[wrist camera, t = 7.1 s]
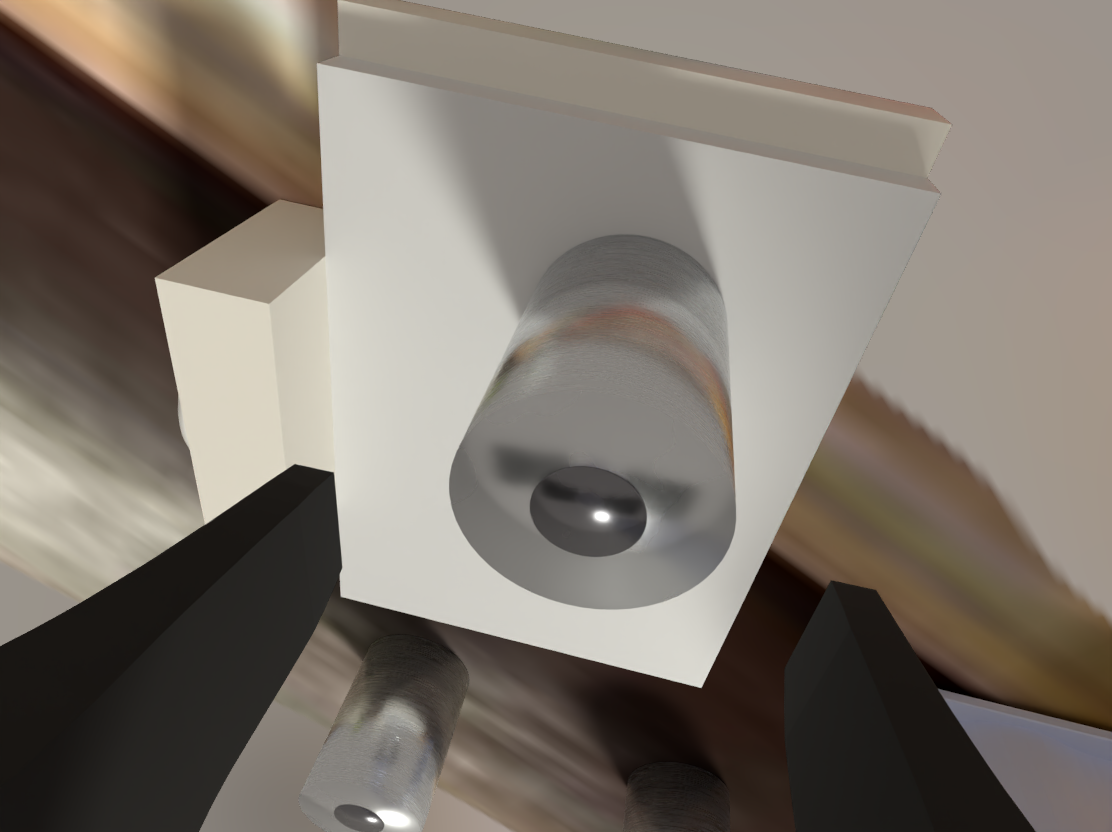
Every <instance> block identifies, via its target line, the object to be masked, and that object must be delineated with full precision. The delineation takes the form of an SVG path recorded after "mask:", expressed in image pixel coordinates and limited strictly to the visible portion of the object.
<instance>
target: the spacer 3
mask: <svg viewBox="0 0 1112 832" xmlns="http://www.w3.org/2000/svg"><path fill="white" fill-rule="evenodd" d="M623 832H730V800H729V791H728V788H727V786H726V785H725V784H724V782H723V781H722V780H721V779H719V778H718V777H717V776H715V775H714V774H712V773H710V772H708V771H706V770H704V769H702V768H699V767H696V766H693V765H689V764H684V763H678V762H656V763H651V764H647V765H644V766H641V767H639V768H637V769H636V770H634V771H633V772H632V773H631V774H630V776H629V778H628V783H627V793H626V804H625V815H624V825H623Z"/></svg>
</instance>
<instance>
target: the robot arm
mask: <svg viewBox="0 0 1112 832" xmlns="http://www.w3.org/2000/svg"><path fill="white" fill-rule="evenodd" d="M341 570H342V556H341V545H340V534H339V522H338V511H337V499H336V488H335V477H334V472H330V471H325V470H320V469H316V468H311V467H307V466H302V465H297V464H294V465H292V466H291V467H289V468H288V469H286V470H285V471H283V472H282V473H280V474H279V475H277V476H276V477H274V478H273V479H271V480H270V481H268V482H267V483H265V484H264V485H262V486H261V487H259V488H258V489H256V490H255V491H254V492H252V493H251V494H249V495H248V496H246V497H245V498H243V499H242V500H240V501H239V502H238V503H236V504H235V505H233V506H232V507H230V508H229V509H227V510H226V511H224V512H223V513H221V514H220V515H219V516H217V517H216V518H214V519H213V520H211V521H210V522H208V523H207V524H205V525H204V526H202V527H201V528H199V529H198V530H196V531H195V532H193V533H192V534H190V535H189V536H187V537H185V538H184V539H182V540H181V541H179V542H178V543H176V544H175V545H173V546H172V547H170V548H169V549H167V550H166V551H164V552H163V553H161V554H160V555H158V556H157V557H155V558H153V559H152V560H150V561H149V562H147V563H146V564H144V565H142V566H141V567H139V568H137V569H136V570H134V571H132V572H131V573H129V574H127V575H126V576H124V577H123V578H121V579H119V580H118V581H116V582H114V583H113V584H111V585H109V586H108V587H106V588H104V589H103V590H101V591H99V592H98V593H96V594H94V595H93V596H91V597H89V598H88V599H86V600H84V601H83V602H81V603H79V604H78V605H76V606H74V607H72V608H71V609H69V610H67V611H66V612H64V613H62V614H60V615H58V616H56V617H55V618H53V619H51V620H49V621H47V622H45V623H44V624H42V625H40V626H38V627H36V628H35V629H33V630H31V631H29V632H27V633H25V634H23V635H21V636H19V637H17V638H15V639H13V640H12V641H9V642H7V643H5V644H4V645H2V646H0V832H199V830H200V828H201V826H202V824H203V822H204V820H205V818H206V816H207V814H208V812H209V810H210V808H211V806H212V804H213V802H214V800H215V798H216V796H217V794H218V793H219V791H220V789H221V787H222V785H223V783H224V782H225V780H226V778H227V776H228V775H229V773H230V771H231V769H232V767H233V766H234V764H235V762H236V761H237V759H238V758H239V756H240V754H241V753H242V751H243V749H244V748H245V746H246V744H247V743H248V741H249V739H250V738H251V736H252V734H253V733H254V731H255V729H256V728H257V726H258V724H259V723H260V721H261V719H262V718H263V716H264V714H265V713H266V711H267V709H268V708H269V706H270V704H271V703H272V701H273V700H274V698H275V696H276V695H277V693H278V691H279V690H280V688H281V686H282V685H283V683H284V681H285V680H286V678H287V676H288V675H289V673H290V671H291V670H292V668H293V666H294V664H295V663H296V661H297V659H298V658H299V656H300V654H301V653H302V651H303V649H304V648H305V646H306V644H307V643H308V641H309V639H310V637H311V636H312V634H313V632H314V630H315V628H316V626H317V624H318V622H319V620H320V618H321V615H322V613H323V611H324V609H325V607H326V605H327V602H328V600H329V598H330V596H331V593H332V591H333V589H334V586H335V584H336V582H337V579H338V577H339V575H340V572H341ZM784 714H785V746H786V755H787V763H788V772H789V780H790V788H791V797H792V805H793V813H794V821H795V828H796V832H1112V732H1110V731H1106V730H1102V729H1098V728H1094V727H1090V726H1086V725H1082V724H1078V723H1074V722H1070V721H1066V720H1062V719H1058V718H1054V717H1050V716H1046V715H1042V714H1038V713H1034V712H1030V711H1025V710H1021V709H1017V708H1013V707H1009V706H1005V705H1001V704H997V703H993V702H989V701H985V700H981V699H977V698H973V697H969V696H965V695H961V694H957V693H953V692H949V691H945V690H941V689H937V687H936V685H935V684H934V682H933V681H932V679H931V677H930V676H929V674H928V673H927V671H926V669H925V668H924V666H923V665H922V663H921V662H920V660H919V658H918V657H917V655H916V654H915V652H914V650H913V649H912V647H911V645H910V644H909V642H908V641H907V639H906V637H905V636H904V634H903V633H902V631H901V629H900V628H899V626H898V625H897V623H896V621H895V620H894V618H893V617H892V615H891V613H890V612H889V610H888V609H887V607H886V605H885V604H884V602H883V601H882V599H881V597H880V596H879V594H878V593H877V591H876V590H873V589H868V588H864V587H859V586H855V585H850V584H845V583H841V582H836V581H832V580H831V582H830V583H829V585H828V587H827V589H826V591H825V593H824V595H823V597H822V599H821V601H820V602H819V604H818V606H817V608H816V610H815V612H814V614H813V616H812V618H811V620H810V621H809V623H808V625H807V627H806V629H805V631H804V633H803V635H802V637H801V639H800V640H799V642H798V644H797V646H796V648H795V650H794V652H793V654H792V656H791V658H790V659H789V661H788V663H787V665H786V667H785V695H784Z"/></svg>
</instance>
